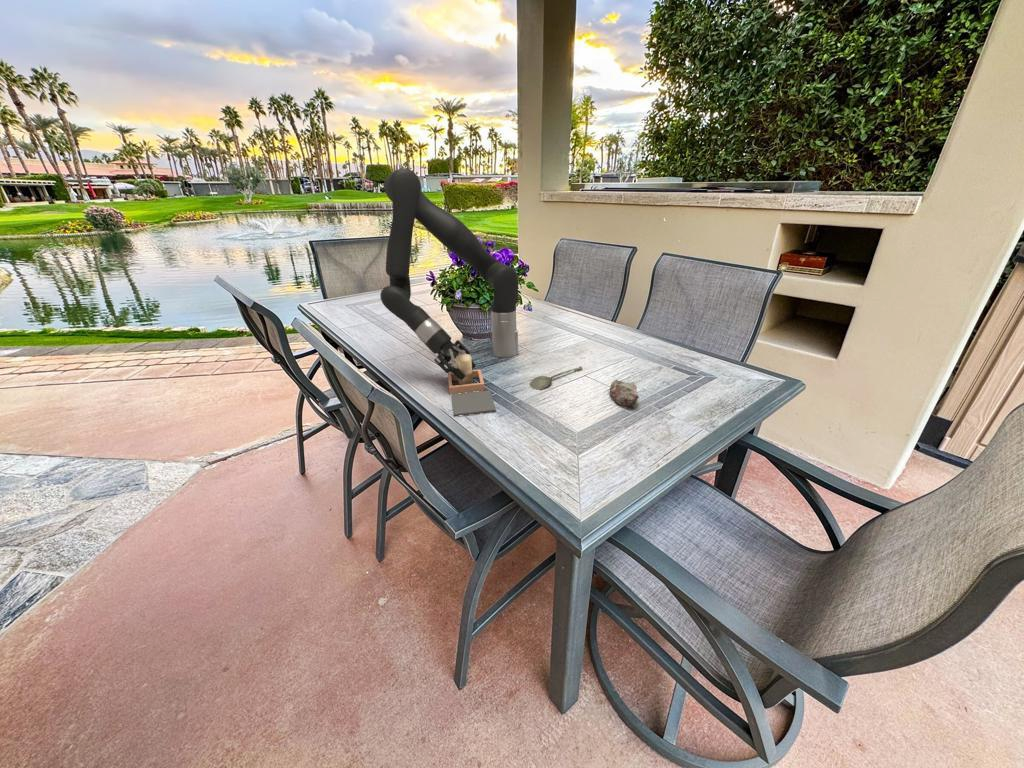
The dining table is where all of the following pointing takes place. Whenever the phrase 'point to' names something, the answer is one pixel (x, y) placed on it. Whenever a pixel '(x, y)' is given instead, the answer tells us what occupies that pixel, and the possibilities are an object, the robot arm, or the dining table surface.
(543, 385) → the soupspoon
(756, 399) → the dining table surface
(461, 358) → the maple post
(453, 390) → the terracotta collar
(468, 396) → the charcoal mat
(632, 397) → the mineral rock
